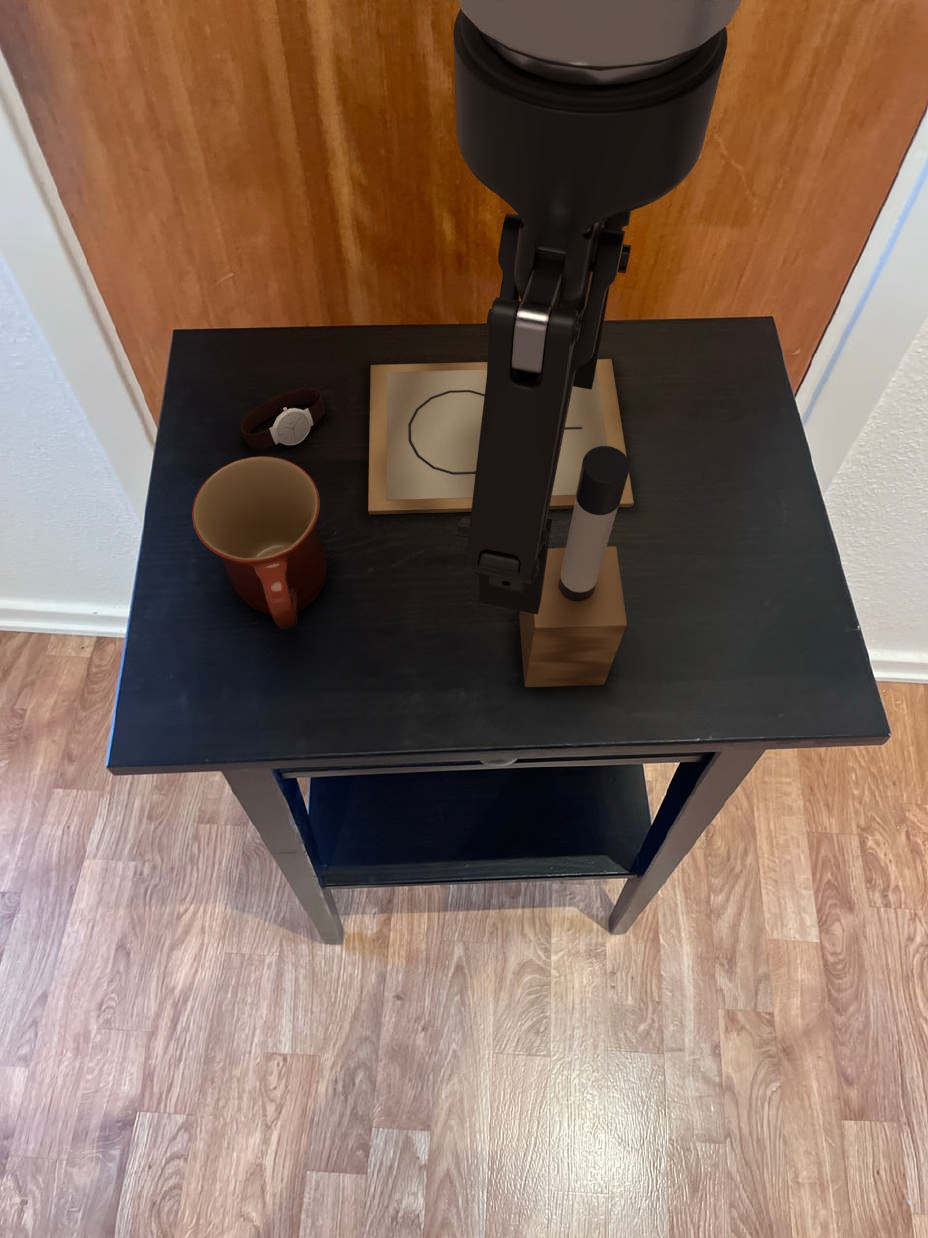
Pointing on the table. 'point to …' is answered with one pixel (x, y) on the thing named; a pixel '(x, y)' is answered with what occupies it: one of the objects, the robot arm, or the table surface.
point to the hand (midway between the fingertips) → (540, 483)
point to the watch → (284, 418)
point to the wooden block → (573, 629)
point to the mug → (265, 533)
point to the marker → (592, 520)
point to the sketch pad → (466, 436)
